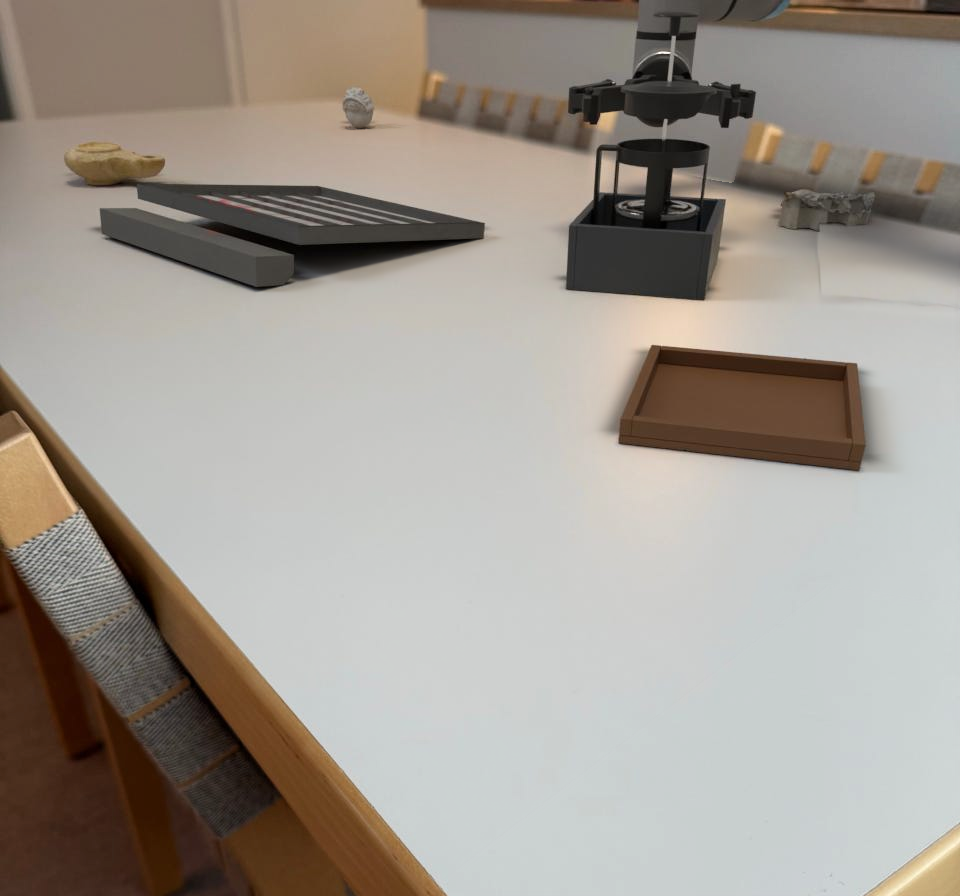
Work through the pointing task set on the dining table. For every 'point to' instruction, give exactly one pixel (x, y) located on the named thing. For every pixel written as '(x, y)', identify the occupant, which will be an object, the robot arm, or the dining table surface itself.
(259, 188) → the dark grey wedge stand
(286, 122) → the dining table surface
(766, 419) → the tray
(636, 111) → the french press
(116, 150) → the oil lamp
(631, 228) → the holder
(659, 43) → the robot arm
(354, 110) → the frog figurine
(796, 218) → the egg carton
